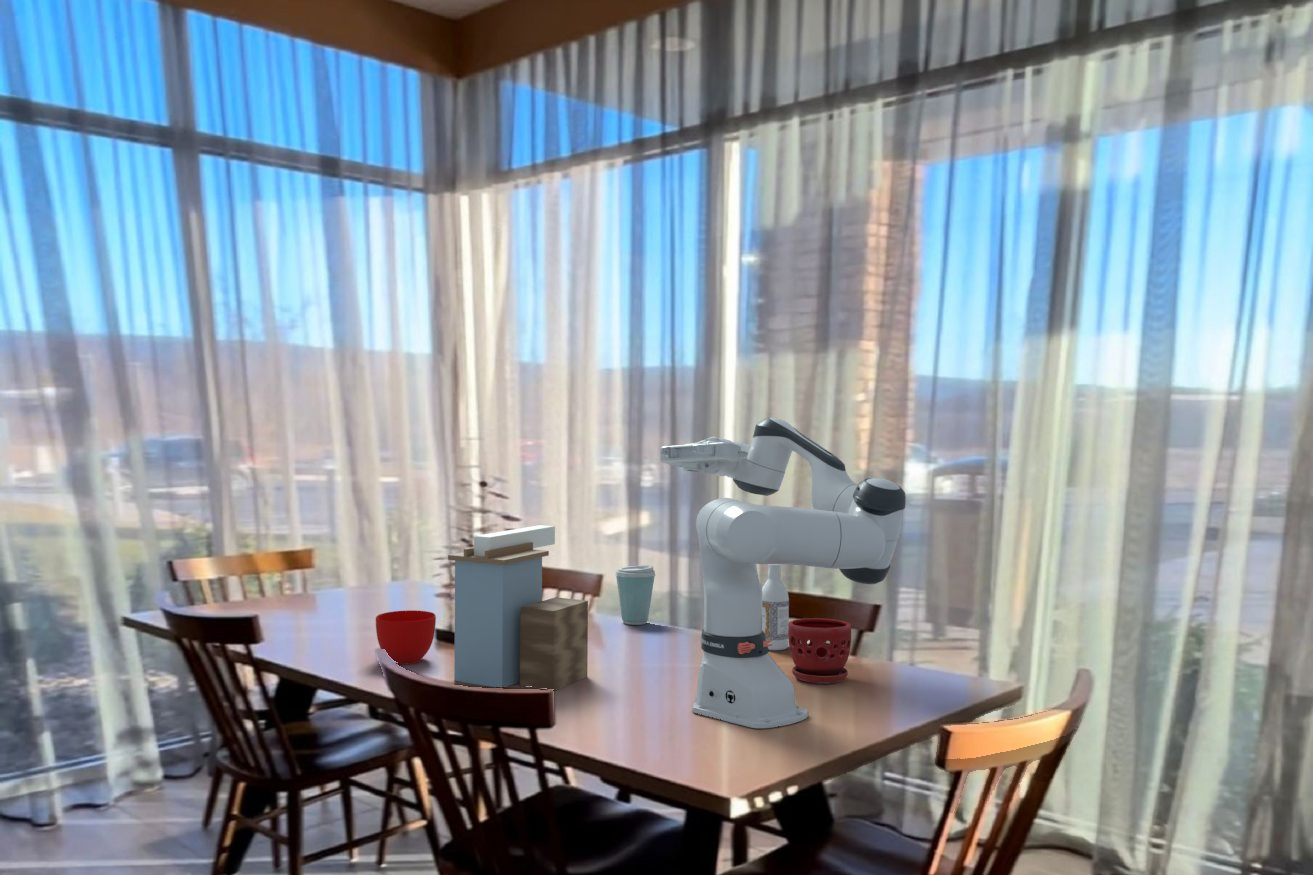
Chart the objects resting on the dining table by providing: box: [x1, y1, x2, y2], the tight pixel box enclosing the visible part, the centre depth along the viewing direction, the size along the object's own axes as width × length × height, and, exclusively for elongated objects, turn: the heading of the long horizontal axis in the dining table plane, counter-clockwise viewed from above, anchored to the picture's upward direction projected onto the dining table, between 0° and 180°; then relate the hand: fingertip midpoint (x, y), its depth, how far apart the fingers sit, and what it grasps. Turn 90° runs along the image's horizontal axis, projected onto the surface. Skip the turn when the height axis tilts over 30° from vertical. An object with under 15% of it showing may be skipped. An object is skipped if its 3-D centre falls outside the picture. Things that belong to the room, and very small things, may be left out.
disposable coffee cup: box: [615, 565, 656, 626], centre depth 269 cm, size 11×11×15 cm
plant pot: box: [788, 617, 852, 685], centre depth 214 cm, size 13×13×12 cm
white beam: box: [473, 524, 556, 557], centre depth 217 cm, size 24×4×4 cm, turn 152°
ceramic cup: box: [375, 609, 437, 665], centre depth 227 cm, size 13×17×10 cm
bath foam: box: [762, 564, 790, 651], centre depth 241 cm, size 7×7×20 cm
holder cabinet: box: [447, 542, 550, 688], centre depth 212 cm, size 16×14×28 cm
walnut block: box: [519, 596, 589, 691], centre depth 209 cm, size 13×8×16 cm, turn 152°
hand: (679, 449), depth 230 cm, fingers open, 8 cm apart
